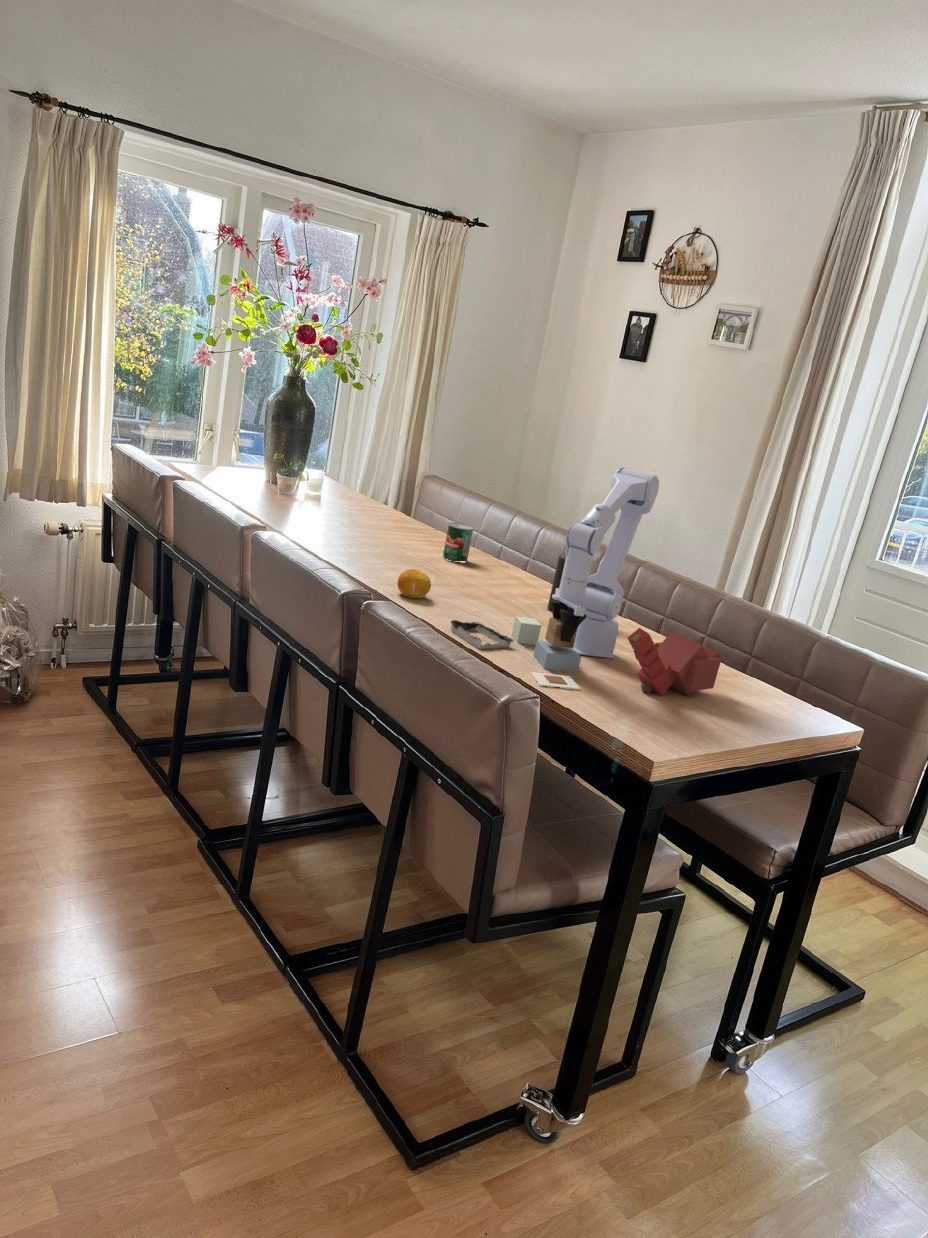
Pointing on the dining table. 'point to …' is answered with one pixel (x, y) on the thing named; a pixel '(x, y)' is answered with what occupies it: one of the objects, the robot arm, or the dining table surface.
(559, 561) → the bottle
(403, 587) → the fruit
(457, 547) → the canned tomato
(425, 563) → the dining table surface
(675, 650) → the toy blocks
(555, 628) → the walnut block
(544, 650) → the slate base block
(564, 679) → the card
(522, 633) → the sage block
